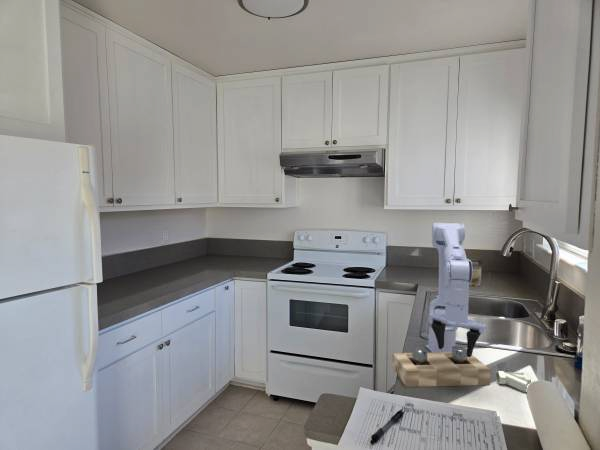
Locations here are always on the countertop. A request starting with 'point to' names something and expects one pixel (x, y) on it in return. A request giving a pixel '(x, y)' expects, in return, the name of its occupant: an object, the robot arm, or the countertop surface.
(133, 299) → the countertop surface
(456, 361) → the peg
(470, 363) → the socket block
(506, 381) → the pipe fitting
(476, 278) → the coffee box
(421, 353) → the peg
